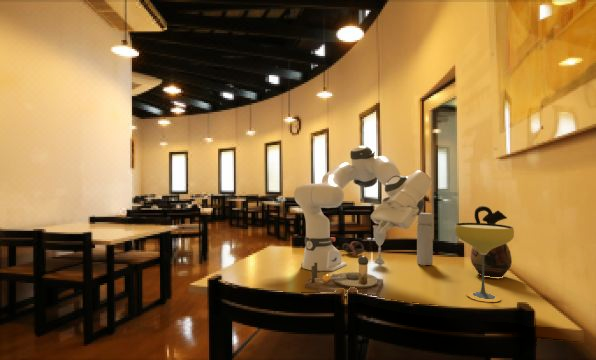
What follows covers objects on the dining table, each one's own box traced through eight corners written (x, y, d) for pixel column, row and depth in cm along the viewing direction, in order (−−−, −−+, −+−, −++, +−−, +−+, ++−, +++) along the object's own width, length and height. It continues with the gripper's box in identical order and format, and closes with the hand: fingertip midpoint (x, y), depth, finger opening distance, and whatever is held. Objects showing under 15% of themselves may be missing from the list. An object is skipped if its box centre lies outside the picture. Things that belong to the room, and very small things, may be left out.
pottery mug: (362, 253, 195) (366, 242, 191) (360, 264, 187) (364, 253, 183) (341, 247, 197) (345, 236, 193) (339, 257, 189) (342, 246, 185)
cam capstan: (313, 279, 131) (313, 250, 131) (361, 274, 139) (362, 246, 140) (333, 293, 116) (334, 259, 116) (387, 286, 124) (387, 255, 124)
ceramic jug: (510, 274, 151) (510, 206, 151) (512, 283, 138) (513, 208, 138) (467, 269, 159) (467, 204, 159) (465, 277, 146) (466, 206, 146)
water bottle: (428, 267, 162) (428, 214, 163) (413, 264, 169) (413, 213, 169) (438, 264, 168) (438, 213, 168) (423, 261, 174) (423, 212, 175)
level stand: (318, 276, 144) (318, 257, 144) (383, 284, 134) (383, 263, 134) (301, 291, 125) (301, 269, 125) (375, 300, 115) (375, 276, 115)
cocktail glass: (445, 289, 128) (445, 222, 128) (492, 289, 129) (492, 222, 129) (472, 307, 110) (472, 229, 110) (526, 306, 111) (526, 229, 111)
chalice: (370, 260, 175) (370, 225, 175) (383, 260, 175) (383, 225, 176) (375, 264, 168) (375, 227, 168) (388, 264, 168) (388, 227, 168)
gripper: (426, 213, 121) (403, 243, 117) (389, 209, 140) (369, 234, 136) (416, 201, 119) (392, 230, 115) (380, 198, 138) (359, 223, 134)
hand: (379, 232), depth 126 cm, fingers closed
